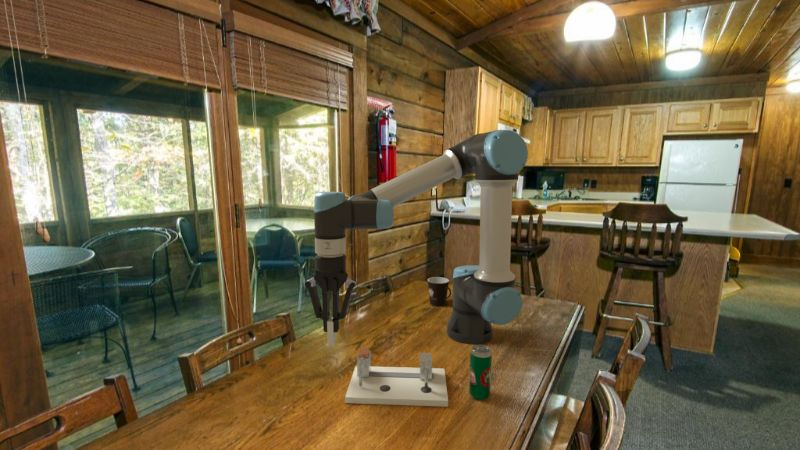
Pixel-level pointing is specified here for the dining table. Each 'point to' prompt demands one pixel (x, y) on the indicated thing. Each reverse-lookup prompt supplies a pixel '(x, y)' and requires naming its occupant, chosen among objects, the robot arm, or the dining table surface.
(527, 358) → the dining table surface
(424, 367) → the fixed leg
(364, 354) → the sliding leg
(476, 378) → the soda can
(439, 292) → the coffee mug
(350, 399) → the bolt plate
